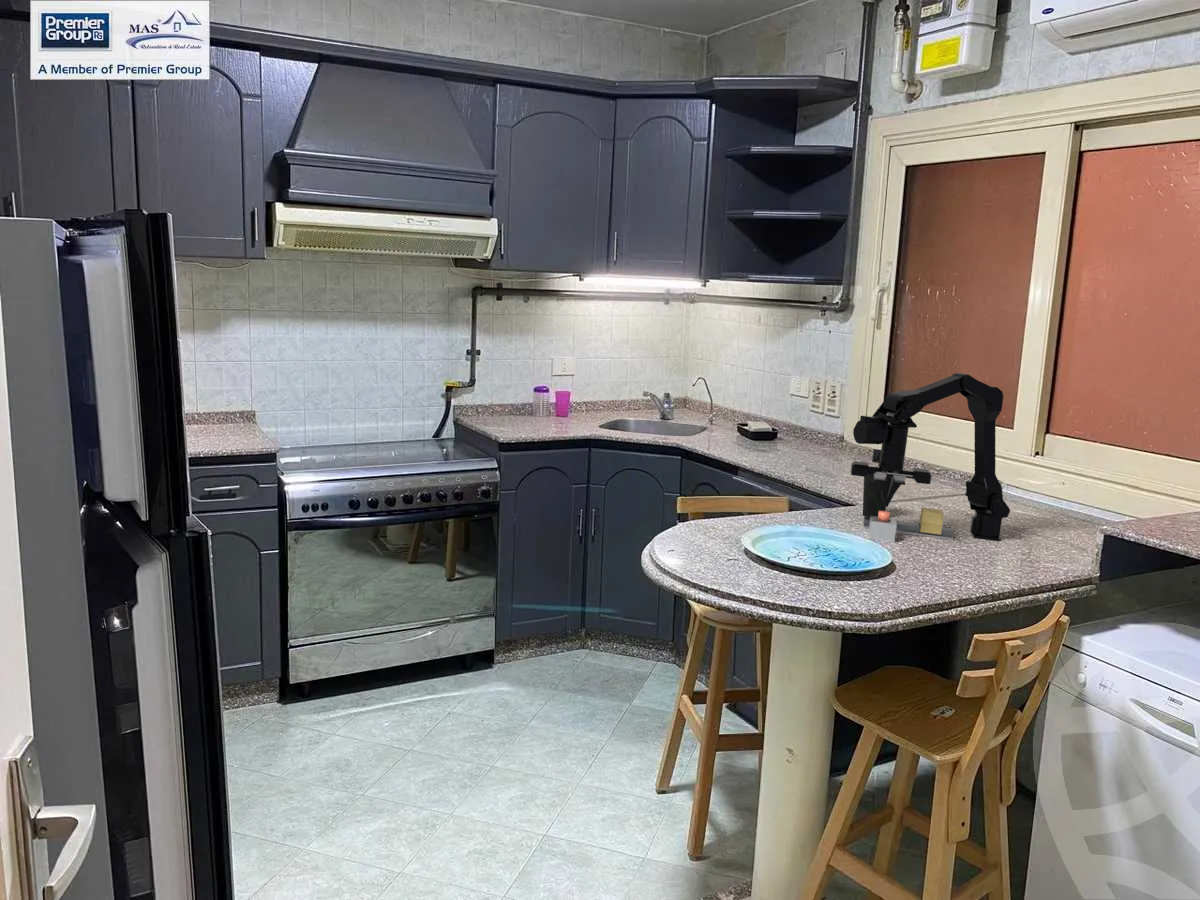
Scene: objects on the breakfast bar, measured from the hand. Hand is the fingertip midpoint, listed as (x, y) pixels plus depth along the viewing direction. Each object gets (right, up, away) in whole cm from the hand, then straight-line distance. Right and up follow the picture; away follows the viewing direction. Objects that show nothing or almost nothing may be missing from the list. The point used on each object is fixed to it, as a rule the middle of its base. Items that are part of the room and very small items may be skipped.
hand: (885, 506), depth 232 cm
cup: (+4, -4, +25) cm, 25 cm away
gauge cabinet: (-1, -8, +1) cm, 8 cm away
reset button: (0, -3, +1) cm, 3 cm away
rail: (+9, -7, +10) cm, 15 cm away
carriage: (+14, -8, +9) cm, 18 cm away
